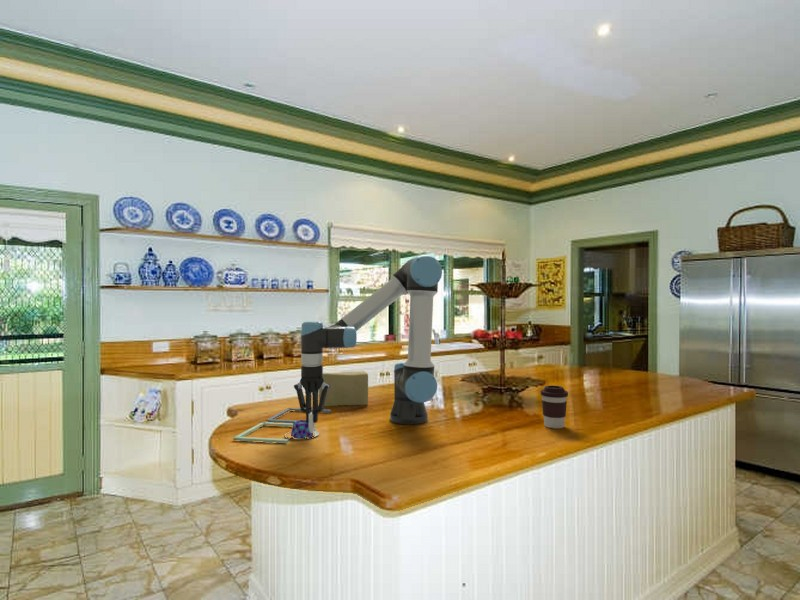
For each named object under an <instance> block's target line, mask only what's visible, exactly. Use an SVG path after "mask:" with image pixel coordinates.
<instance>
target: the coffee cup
mask: <svg viewBox="0 0 800 600" xmlns="http://www.w3.org/2000/svg"><path fill="white" fill-rule="evenodd" d="M540 396H541V398H542V400H541V406H542V415H543V425H544V426H545V427H546V428H550V429H556V430H557V429H564V428H565V422H566V416H567V415H566V414H567V404H568V403H567V397H568V396H569V392H568V391H567V390H565V388H564V386H561V385H544V388H543V389H540Z"/></svg>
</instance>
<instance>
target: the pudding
mask: <svg viewBox="0 0 800 600" xmlns="http://www.w3.org/2000/svg"><path fill="white" fill-rule="evenodd" d="M297 420H298V419H297ZM289 432H291V436H293V437H294V438H305V437H311V436H313V433H310V432H309V423H308V422H306V419H300V420H298V421H295V422H294V423H293V427H292V428H291V431H289ZM289 432H287V433H289ZM287 433H285V434H284V437H285V439H289V440H291V439H290V438H287V437H286V436H285V435H286V434H287ZM314 433H315V436H314V437H312V438H315V437H317V436H319V435H320V432H319V431H318V430H315V431H314ZM312 438H311V439H312ZM305 439H306V438H305ZM307 439H309V440H310V438H307ZM307 439H306V440H307Z"/></svg>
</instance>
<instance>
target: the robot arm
mask: <svg viewBox="0 0 800 600" xmlns="http://www.w3.org/2000/svg"><path fill="white" fill-rule="evenodd" d="M442 274H443V269H442V265H441V264H440V262H439V261H438V260H437V258H435V257H434V256H431V255H427V254H426V255H425V254H424V255H418V256H416V257H412V258H411V259H409V260H407V261H405V263H403V265H402V266H401V267H400V268H398V270H397V271H395V273H393V274H392V275H390V280H388V281H387V282H386V283H384V284H383V285H382V286H380V287H379V288H378V289H377V290H376V291H374V292H373V293H372V294H371V295H369V296H368V297H367V298H366V299H364V300H363V301H361V302H360V303H359V304H358V305H357V306H355V307H354V308H352V310H350V311H349V312H348V313H346V315H344V316H343V317H341V319H339V320H337V322H335V323H334V324H332V325H330V326H324V323H323V322H322V321H304V322H302V323H301V331H300V347H301V348H300V349H301V352H300V358H301V360H300V364H301V368H300V370H301V371H300V373H301V374H300V376H301V377H300V380H299V382H297V383H296V384H294V385H293V388H294V389H295V391H296V394H297V395H296V396H297V399H298V404H299V408H300V409H301V411H302V412H301V413H305V420H306V422H308V423H309V432H310V433H313V432H314V431H316V423H318V421H319V420H318V419H319V418H318V417H319V414H320V413H319V412H321V411H322V410H323V409H324V407H325V406H324V403H325V399H326V395H327V391H328V389H329V388H330V385H327V384H326V383H324V380H323V373H324V371H323V370H324V369H323V367H324V366H323V365H322V364H323V363H324V362H323V359H324V357H323V356H324V355H323V354H324V353H323V352H324V351H323V349H335V348H336V349H339V348H341V349H343V348H346V349H349V348H355V347H356V345H357V338H358V337H357V331H359V330H360V329H361V328H362V327H364V326H365V325H366V324H367V323H369V322H371V320H372V319H374V318H375V317H376V316H377V315H379V314H380V313H381V312H382V311H384V310H385V309H386V308H387V307H389V306H390V305H391V304H393V303H394V302H395V301H396V300H398V299H399V298H401V296H406V295H409V296H410V297H409V298H410V301H409V317H408V318H409V319H408V321H409V323H408V340H407V341H408V346H407V360H406V361H405V362H397V363H395V365H394V369H393V377H394V378H393V380H394V381H393V382H394V388H393V389H394V396H393V397H394V398H393V399H394V401H393V405H392V408H391V411H390V414H389V415H390V416H389V420H390V421H391V422H392V423H395V424H399V425H419V424H424V423H427V421H428V419H429V418H428V417H429V416H428V411H427V408H426V405H425V403H426V402H428V401H430V400H431V399H432V398H434V396H435V395H436V393H437V390H438V381H437V379H436V377H435V364H434V363H433V362H432V361H431V360H432V358H431V355H432V335H433V332H432V331H433V312H434V309H433V308H434V297H435V296H436V294H438V292H439V291H438V289H439V288H438V287H439V282H440V281H441V279H442V276H443V275H442ZM321 386H322V389H323V390H322V393H321V397H320V402H319V389H320V387H321ZM303 389H304V390H303ZM304 395H305V396H304ZM311 409H313V412H311V411H312V410H311Z"/></svg>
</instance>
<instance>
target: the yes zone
mask: <svg viewBox="0 0 800 600" xmlns="http://www.w3.org/2000/svg"><path fill="white" fill-rule="evenodd" d="M263 425H276V426H293V423H274V422H266V421H261V422H260V423H258V424H256V425H254V426H252V427H251V428H248V429H247V430H245V431H243V432H240V433H239V434H237V435H236V436H234V437H233V439H232V441H233V440H240V441H263V442H276V443H288V442H289V440H290V439H289V438H271V437H269V438H268V437H255V436H254V437H251V436H246V435H247V434H249V433H251V432H253V431H254V430H256V429H258V428H259V427H261V426H263ZM253 433H254V432H253ZM251 434H252V433H251ZM244 436H246V437H244ZM288 444H289V443H288Z"/></svg>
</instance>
